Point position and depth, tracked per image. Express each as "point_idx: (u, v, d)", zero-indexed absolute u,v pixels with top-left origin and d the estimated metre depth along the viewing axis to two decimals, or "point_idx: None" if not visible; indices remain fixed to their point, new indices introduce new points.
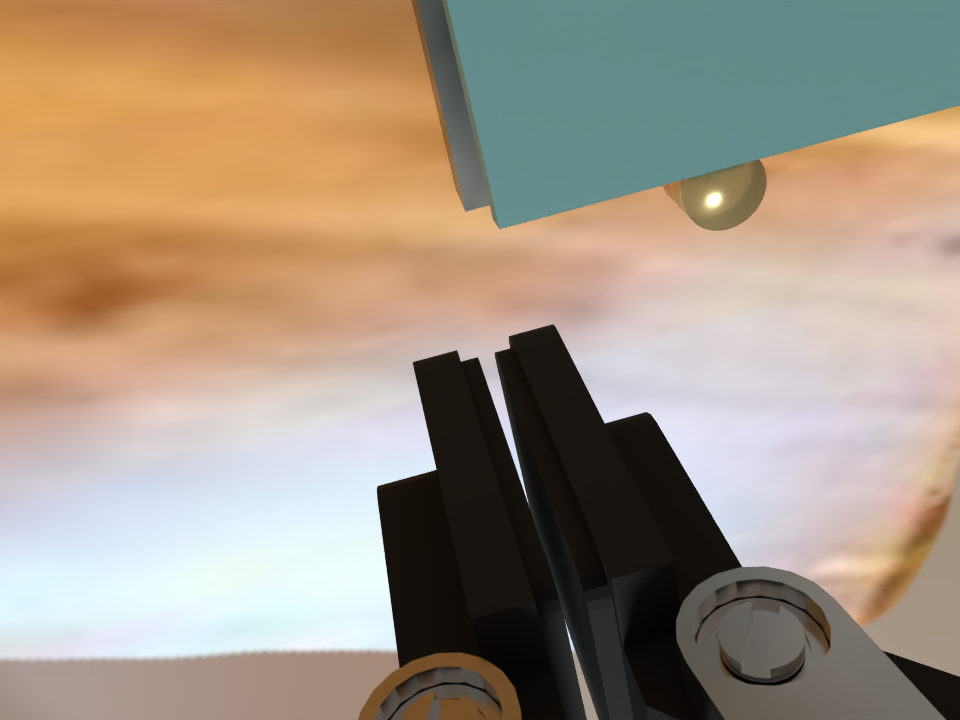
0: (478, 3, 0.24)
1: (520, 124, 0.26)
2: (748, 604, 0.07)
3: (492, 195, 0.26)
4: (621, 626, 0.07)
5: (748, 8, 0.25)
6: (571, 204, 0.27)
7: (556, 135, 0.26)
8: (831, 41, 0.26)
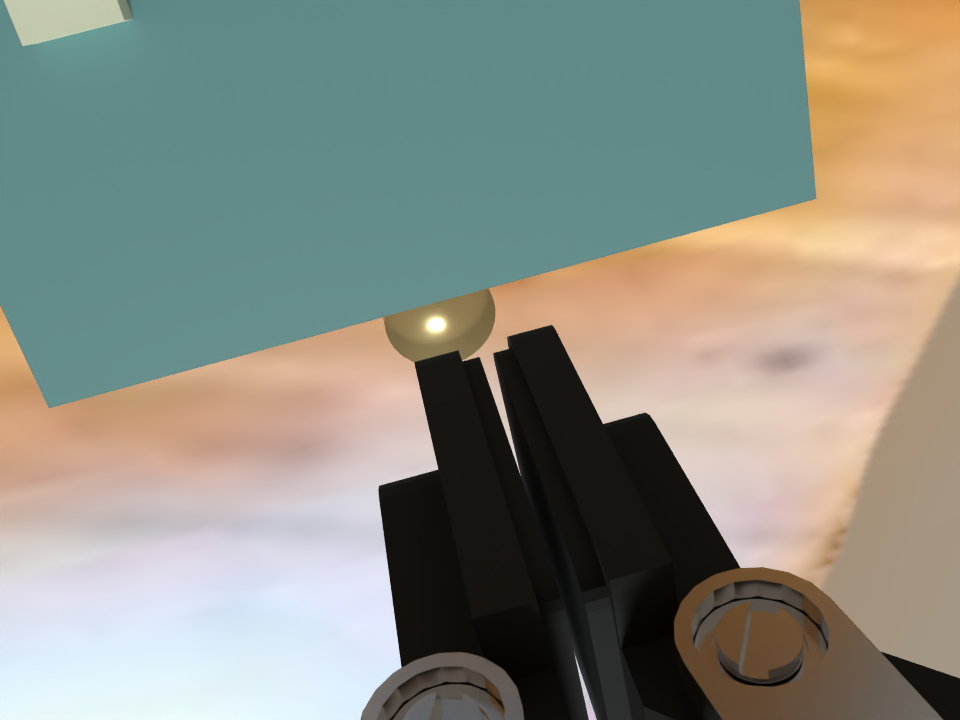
0: None
1: (53, 271, 0.18)
2: (746, 605, 0.07)
3: (30, 364, 0.19)
4: (619, 627, 0.07)
5: (368, 109, 0.18)
6: (149, 373, 0.19)
7: (109, 284, 0.18)
8: (497, 151, 0.19)
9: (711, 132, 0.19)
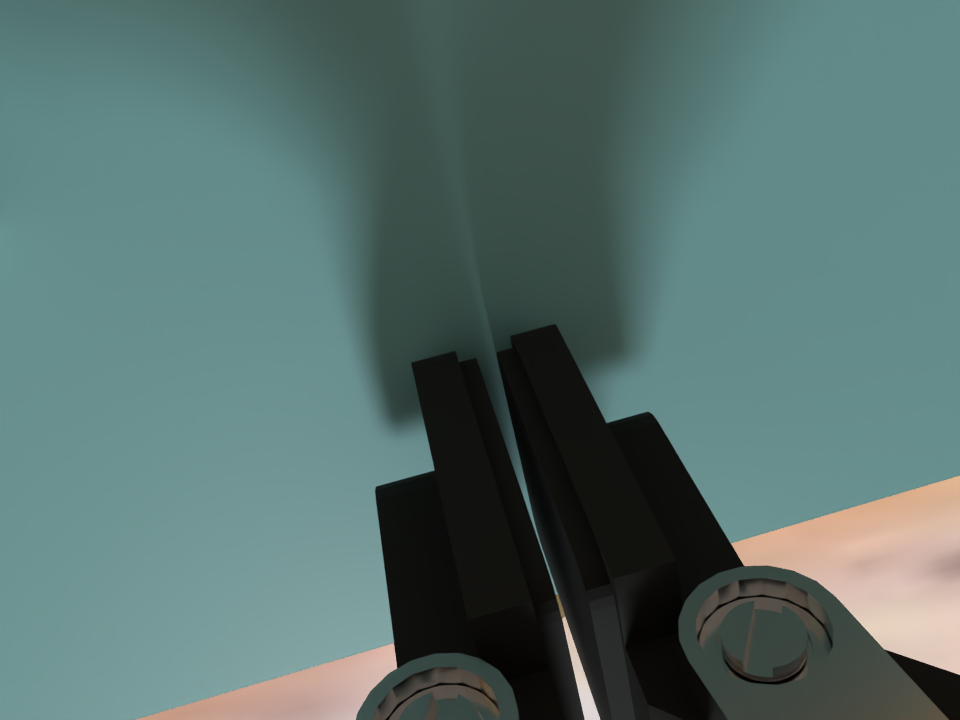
0: None
1: None
2: (751, 603, 0.07)
3: None
4: (623, 625, 0.07)
5: (419, 341, 0.10)
6: None
7: None
8: (629, 393, 0.11)
9: None
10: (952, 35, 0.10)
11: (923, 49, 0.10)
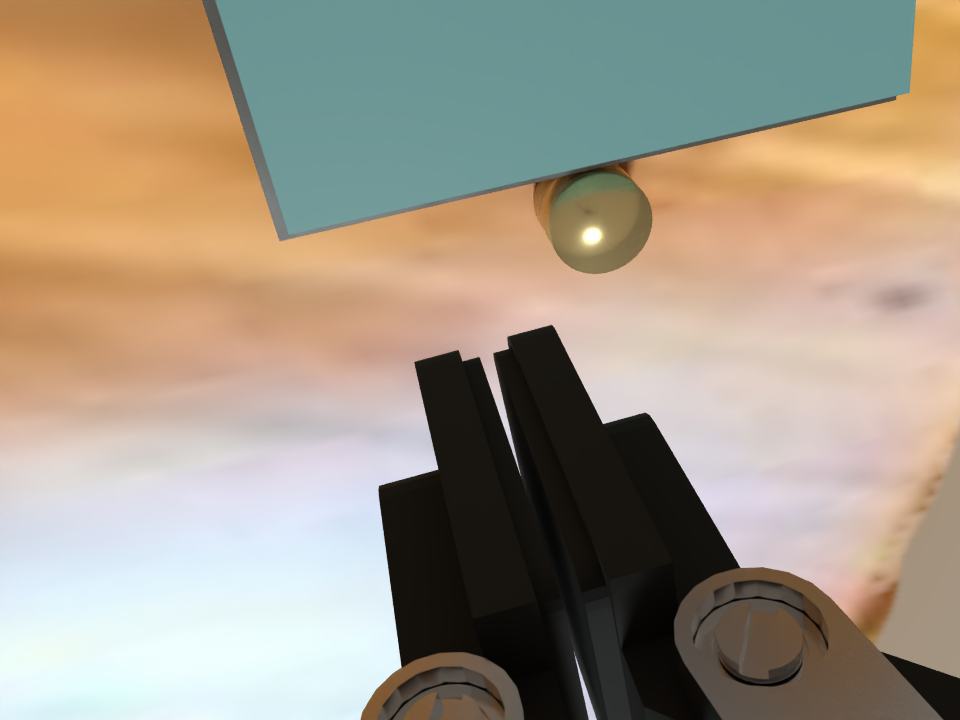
0: None
1: (306, 123, 0.23)
2: (746, 605, 0.07)
3: (278, 198, 0.24)
4: (619, 627, 0.07)
5: (568, 0, 0.22)
6: (369, 210, 0.24)
7: (348, 135, 0.23)
8: (665, 41, 0.23)
9: (835, 33, 0.24)
10: None
11: None
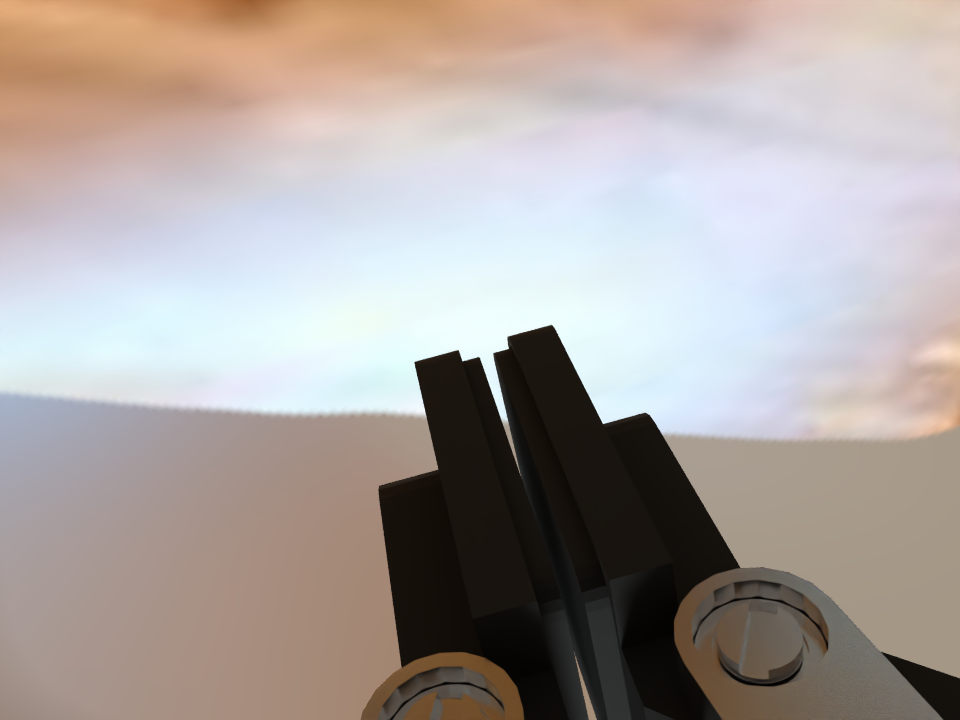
0: None
1: None
2: (746, 605, 0.07)
3: None
4: (619, 627, 0.07)
5: None
6: None
7: None
8: None
9: None
10: None
11: None
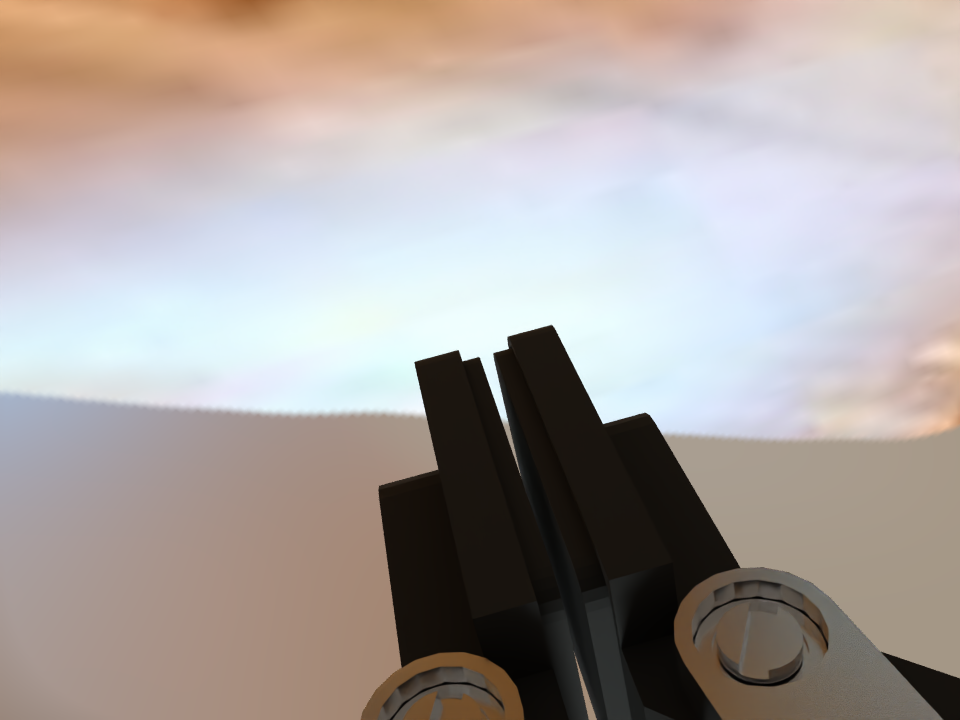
0: None
1: None
2: (746, 605, 0.07)
3: None
4: (619, 626, 0.07)
5: None
6: None
7: None
8: None
9: None
10: None
11: None
